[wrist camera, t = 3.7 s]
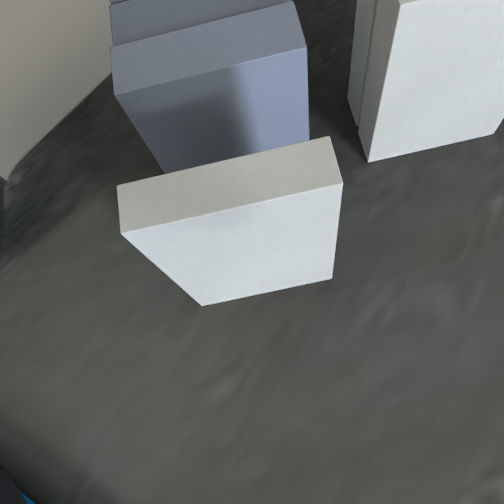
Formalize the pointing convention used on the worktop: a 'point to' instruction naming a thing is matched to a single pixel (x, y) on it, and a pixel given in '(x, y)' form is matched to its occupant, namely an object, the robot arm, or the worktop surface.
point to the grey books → (210, 77)
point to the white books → (426, 73)
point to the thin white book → (240, 221)
